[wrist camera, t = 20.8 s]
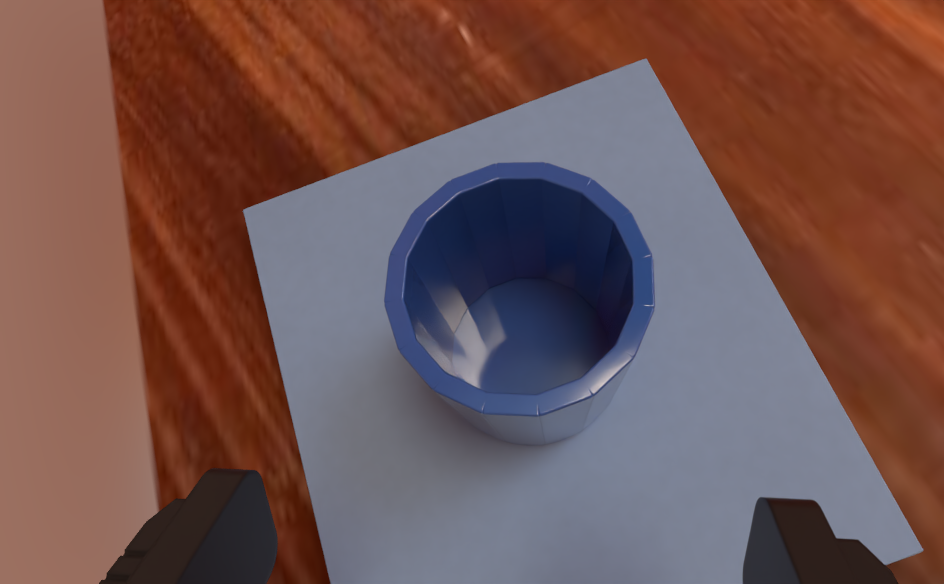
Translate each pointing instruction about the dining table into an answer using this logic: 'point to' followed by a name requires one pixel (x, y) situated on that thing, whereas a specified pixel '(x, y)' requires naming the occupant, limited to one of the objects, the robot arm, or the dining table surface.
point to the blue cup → (521, 298)
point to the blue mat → (613, 432)
